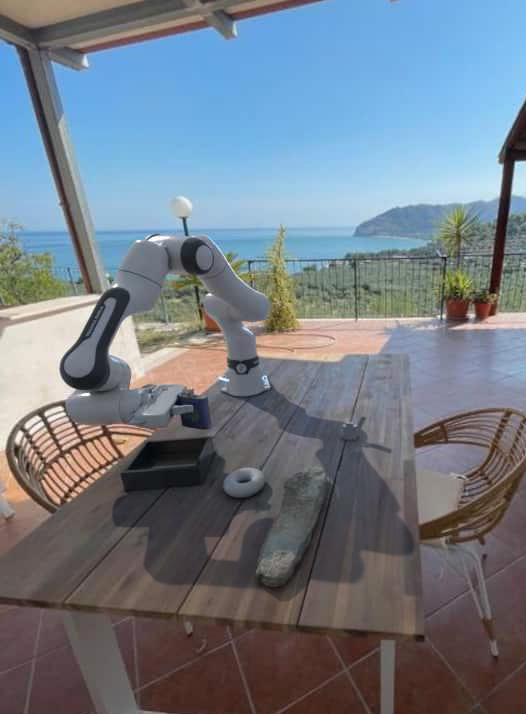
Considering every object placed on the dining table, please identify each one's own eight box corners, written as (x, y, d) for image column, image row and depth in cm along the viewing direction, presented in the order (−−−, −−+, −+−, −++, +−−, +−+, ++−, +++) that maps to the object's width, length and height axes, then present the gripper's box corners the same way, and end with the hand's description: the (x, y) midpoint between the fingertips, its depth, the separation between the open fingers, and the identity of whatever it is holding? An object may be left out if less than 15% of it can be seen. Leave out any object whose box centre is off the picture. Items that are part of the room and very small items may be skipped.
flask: (214, 426, 103) (208, 389, 99) (207, 431, 101) (200, 393, 97) (186, 421, 106) (179, 384, 102) (178, 426, 104) (171, 388, 100)
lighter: (343, 439, 118) (342, 415, 115) (343, 436, 120) (343, 413, 117) (366, 439, 118) (366, 416, 115) (366, 437, 120) (366, 413, 117)
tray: (148, 456, 109) (144, 440, 108) (214, 451, 112) (212, 436, 110) (124, 490, 95) (120, 473, 93) (201, 484, 97) (198, 467, 95)
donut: (216, 498, 92) (255, 503, 90) (213, 486, 91) (253, 490, 89) (236, 474, 101) (272, 478, 99) (234, 463, 100) (271, 466, 98)
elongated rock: (242, 591, 69) (297, 599, 68) (240, 570, 67) (296, 578, 66) (296, 471, 101) (334, 476, 100) (296, 454, 99) (334, 459, 98)
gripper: (119, 412, 89) (183, 408, 90) (151, 381, 108) (203, 379, 109) (125, 436, 91) (187, 432, 93) (155, 402, 110) (206, 399, 112)
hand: (196, 403), depth 101 cm, fingers closed on flask, 4 cm apart
